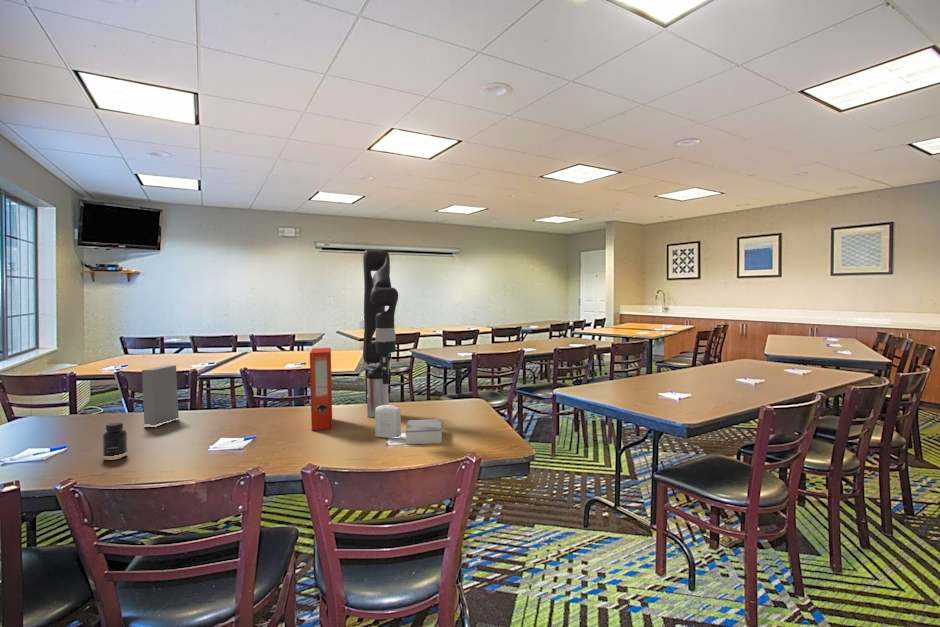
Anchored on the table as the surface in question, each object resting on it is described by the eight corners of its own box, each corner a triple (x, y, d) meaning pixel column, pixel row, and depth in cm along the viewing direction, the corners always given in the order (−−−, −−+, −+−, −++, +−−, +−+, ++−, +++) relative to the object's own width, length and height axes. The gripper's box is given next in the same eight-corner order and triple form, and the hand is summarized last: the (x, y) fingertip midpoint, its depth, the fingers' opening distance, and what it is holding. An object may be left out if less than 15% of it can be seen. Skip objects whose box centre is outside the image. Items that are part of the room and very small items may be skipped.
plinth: (406, 444, 176) (405, 430, 176) (408, 432, 191) (408, 420, 191) (441, 442, 177) (441, 429, 177) (441, 431, 192) (441, 418, 192)
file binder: (333, 418, 215) (330, 347, 214) (332, 429, 199) (329, 351, 198) (314, 420, 213) (311, 348, 212) (311, 431, 197) (308, 352, 195)
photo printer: (402, 436, 187) (402, 404, 186) (398, 439, 183) (397, 407, 182) (379, 434, 190) (378, 403, 189) (373, 437, 186) (372, 405, 185)
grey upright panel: (167, 419, 221) (164, 365, 220) (179, 420, 220) (176, 365, 219) (142, 428, 207) (139, 370, 206) (155, 428, 206) (152, 370, 205)
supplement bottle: (108, 462, 163) (106, 427, 163) (99, 459, 167) (97, 425, 167) (131, 456, 169) (129, 422, 169) (122, 453, 173) (120, 420, 172)
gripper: (377, 338, 192) (379, 379, 192) (373, 341, 177) (374, 385, 178) (397, 337, 192) (398, 378, 193) (393, 341, 178) (395, 385, 178)
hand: (386, 381), depth 185 cm, fingers open, 8 cm apart
